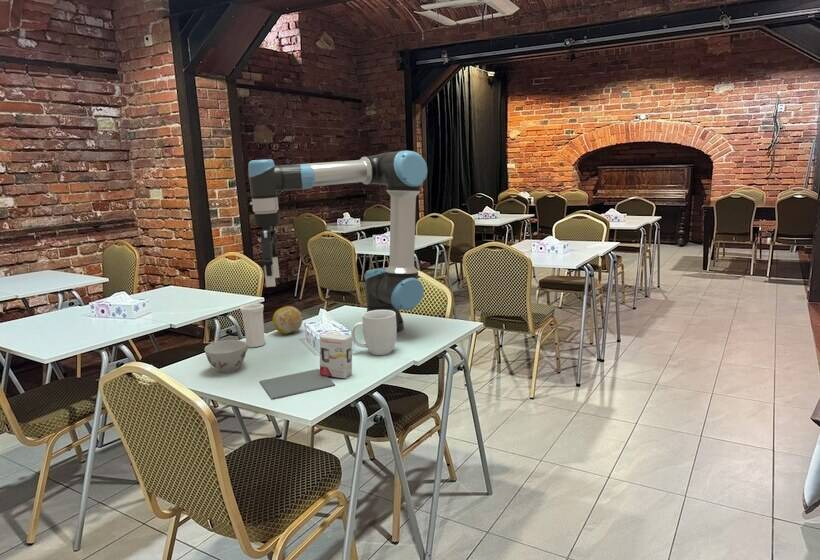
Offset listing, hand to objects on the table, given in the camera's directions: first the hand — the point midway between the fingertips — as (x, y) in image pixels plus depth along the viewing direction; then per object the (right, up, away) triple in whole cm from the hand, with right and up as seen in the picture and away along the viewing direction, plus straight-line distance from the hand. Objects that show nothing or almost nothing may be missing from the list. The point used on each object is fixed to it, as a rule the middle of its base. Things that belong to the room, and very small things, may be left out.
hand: (273, 281), depth 177 cm
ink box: (+20, -28, -6) cm, 35 cm away
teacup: (-14, -27, +4) cm, 31 cm away
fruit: (-4, -20, +40) cm, 45 cm away
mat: (+9, -29, -11) cm, 33 cm away
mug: (+31, -23, +13) cm, 41 cm away
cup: (-12, -23, +27) cm, 38 cm away
